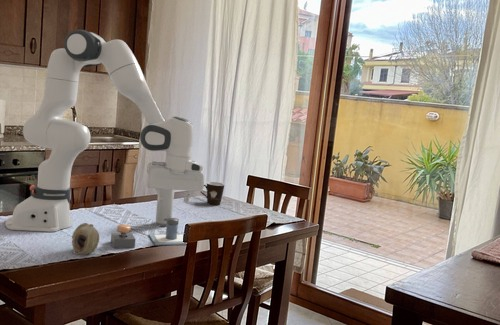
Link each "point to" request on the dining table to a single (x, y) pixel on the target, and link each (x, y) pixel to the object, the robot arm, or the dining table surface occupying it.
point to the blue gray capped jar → (172, 228)
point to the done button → (123, 229)
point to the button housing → (122, 240)
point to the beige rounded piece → (85, 239)
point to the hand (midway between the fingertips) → (173, 202)
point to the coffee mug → (214, 192)
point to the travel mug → (164, 207)
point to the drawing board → (161, 239)
